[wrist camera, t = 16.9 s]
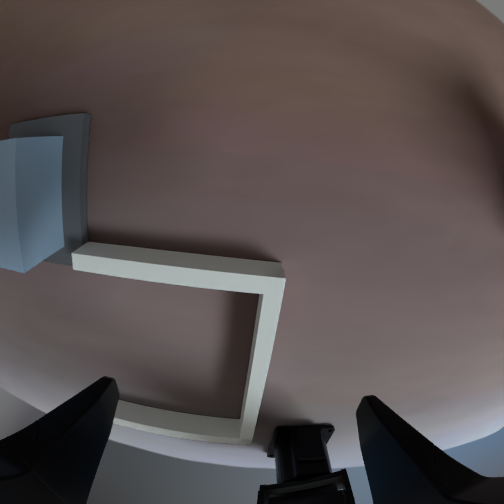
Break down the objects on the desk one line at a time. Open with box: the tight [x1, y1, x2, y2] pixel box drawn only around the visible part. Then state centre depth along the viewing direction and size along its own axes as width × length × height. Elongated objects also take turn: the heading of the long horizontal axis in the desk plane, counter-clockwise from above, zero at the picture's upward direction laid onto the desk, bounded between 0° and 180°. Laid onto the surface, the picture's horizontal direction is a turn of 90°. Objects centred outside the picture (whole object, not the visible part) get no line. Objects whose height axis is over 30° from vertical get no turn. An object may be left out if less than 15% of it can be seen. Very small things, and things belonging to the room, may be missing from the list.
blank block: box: [0, 136, 64, 273], centre depth 14 cm, size 4×8×5 cm, turn 173°
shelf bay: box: [71, 242, 286, 445], centre depth 21 cm, size 18×14×2 cm
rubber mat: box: [9, 113, 91, 266], centre depth 17 cm, size 11×8×1 cm
